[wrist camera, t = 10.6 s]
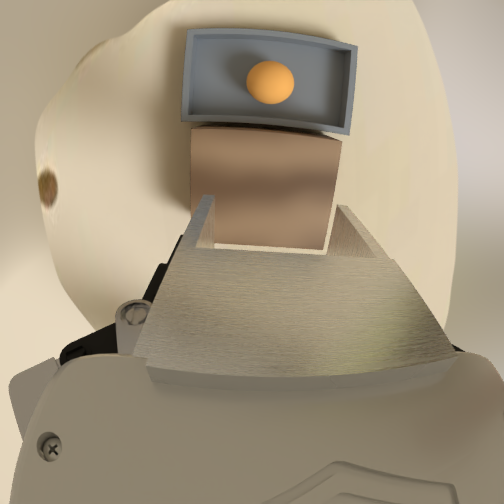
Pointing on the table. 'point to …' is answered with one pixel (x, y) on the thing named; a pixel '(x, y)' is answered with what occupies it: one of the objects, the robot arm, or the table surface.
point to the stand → (265, 184)
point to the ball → (270, 82)
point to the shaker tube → (288, 316)
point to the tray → (259, 50)
